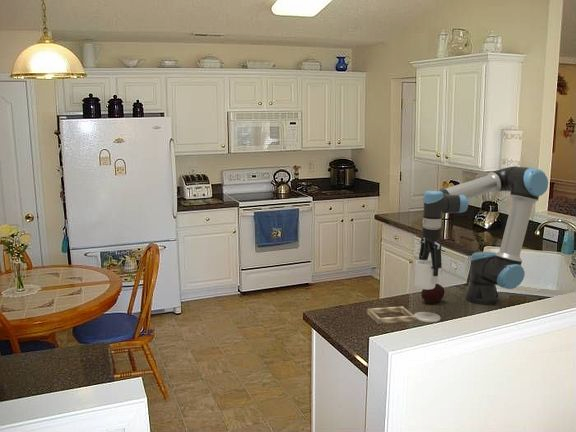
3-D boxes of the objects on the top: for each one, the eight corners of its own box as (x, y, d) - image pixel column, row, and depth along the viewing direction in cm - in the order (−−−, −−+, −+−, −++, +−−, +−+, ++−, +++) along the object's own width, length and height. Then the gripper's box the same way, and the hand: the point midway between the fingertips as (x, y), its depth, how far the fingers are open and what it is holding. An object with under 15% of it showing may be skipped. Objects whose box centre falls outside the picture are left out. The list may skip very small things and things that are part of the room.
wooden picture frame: (402, 310, 244) (402, 306, 244) (415, 321, 231) (416, 316, 231) (366, 313, 241) (366, 308, 240) (377, 323, 228) (378, 319, 227)
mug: (446, 288, 231) (447, 263, 229) (420, 290, 228) (422, 265, 226) (435, 282, 239) (437, 259, 237) (410, 284, 236) (412, 260, 234)
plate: (432, 312, 242) (432, 311, 242) (445, 321, 231) (445, 319, 231) (409, 314, 240) (409, 312, 239) (420, 323, 229) (421, 321, 229)
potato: (448, 303, 255) (449, 284, 253) (427, 306, 250) (428, 287, 248) (436, 298, 263) (437, 279, 261) (415, 301, 258) (416, 282, 256)
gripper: (412, 223, 238) (409, 273, 242) (435, 233, 218) (432, 287, 222) (428, 223, 240) (425, 273, 244) (452, 232, 219) (449, 286, 223)
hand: (428, 280), depth 233 cm, fingers closed on mug, 9 cm apart
